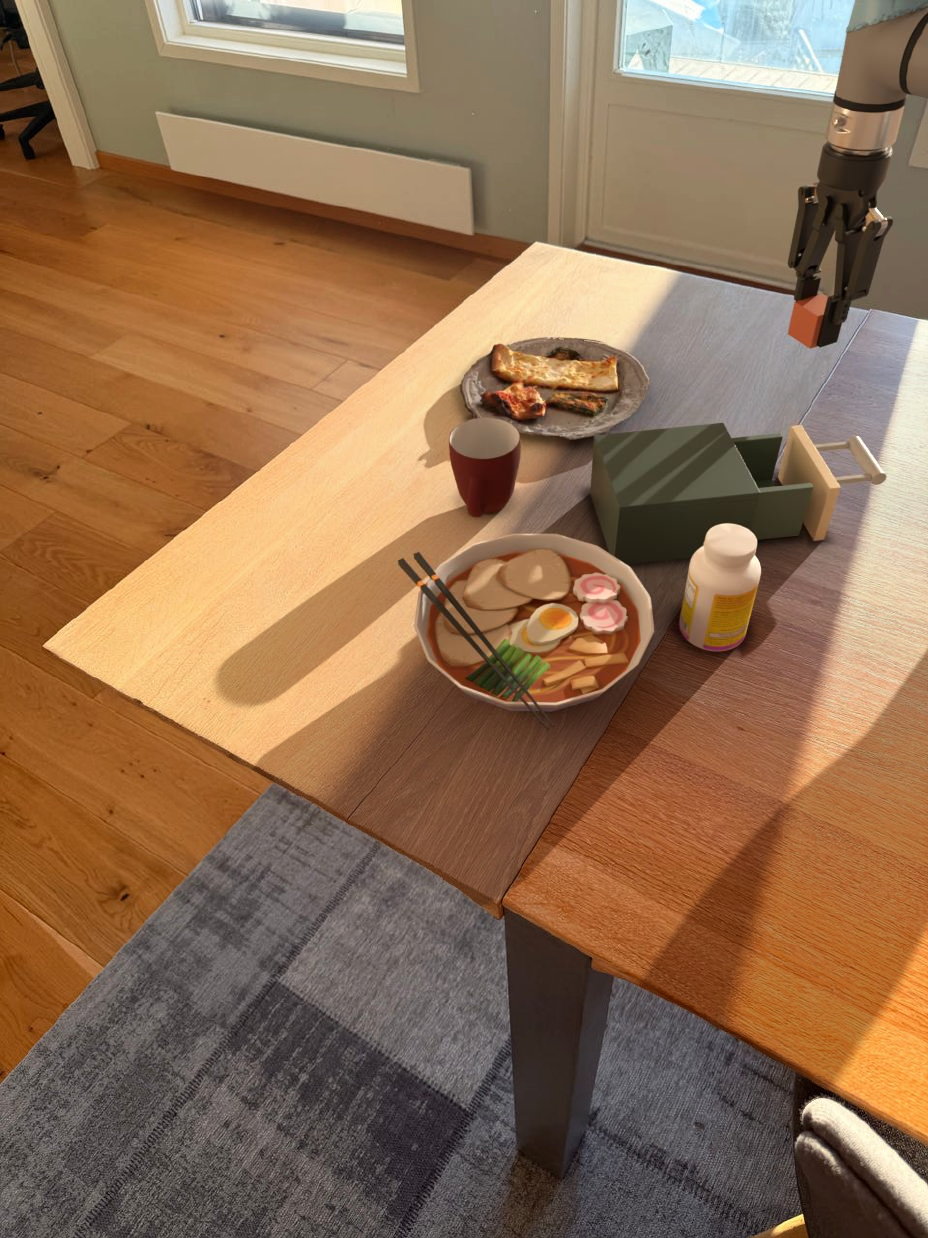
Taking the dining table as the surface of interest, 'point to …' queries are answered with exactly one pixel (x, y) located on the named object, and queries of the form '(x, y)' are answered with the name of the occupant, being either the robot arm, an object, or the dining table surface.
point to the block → (807, 320)
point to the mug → (485, 463)
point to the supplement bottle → (721, 589)
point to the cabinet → (668, 490)
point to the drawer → (799, 482)
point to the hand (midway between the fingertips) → (813, 334)
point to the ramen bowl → (532, 620)
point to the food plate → (556, 386)
